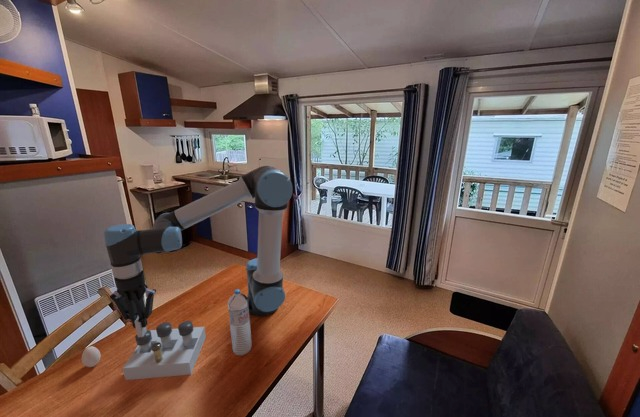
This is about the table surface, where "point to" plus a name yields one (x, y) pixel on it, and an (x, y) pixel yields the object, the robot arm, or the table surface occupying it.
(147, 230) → the robot arm
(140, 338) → the knob
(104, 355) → the table surface
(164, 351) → the console
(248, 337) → the water bottle
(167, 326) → the knob mid
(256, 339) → the table surface
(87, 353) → the egg
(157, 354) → the pot stem
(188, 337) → the knob
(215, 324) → the table surface
